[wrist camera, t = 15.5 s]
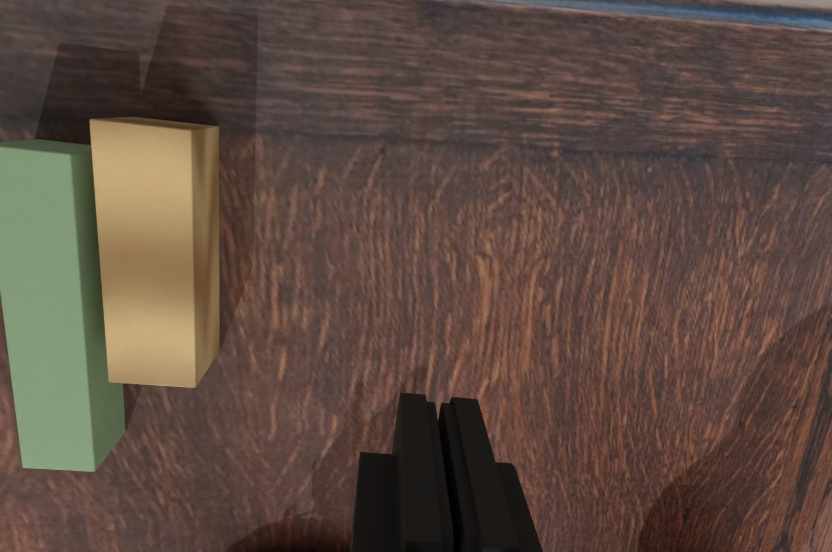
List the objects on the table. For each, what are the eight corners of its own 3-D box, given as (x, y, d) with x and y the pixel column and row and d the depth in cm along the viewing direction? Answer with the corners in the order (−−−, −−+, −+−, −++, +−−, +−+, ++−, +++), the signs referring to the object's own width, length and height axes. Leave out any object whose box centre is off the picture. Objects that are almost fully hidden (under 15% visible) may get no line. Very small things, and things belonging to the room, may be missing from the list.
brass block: (133, 116, 25) (88, 118, 21) (219, 126, 25) (191, 129, 21) (144, 345, 29) (108, 382, 25) (220, 351, 29) (195, 388, 25)
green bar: (33, 138, 25) (-20, 143, 22) (110, 147, 25) (69, 153, 22) (61, 427, 30) (21, 468, 26) (126, 431, 30) (95, 472, 27)
